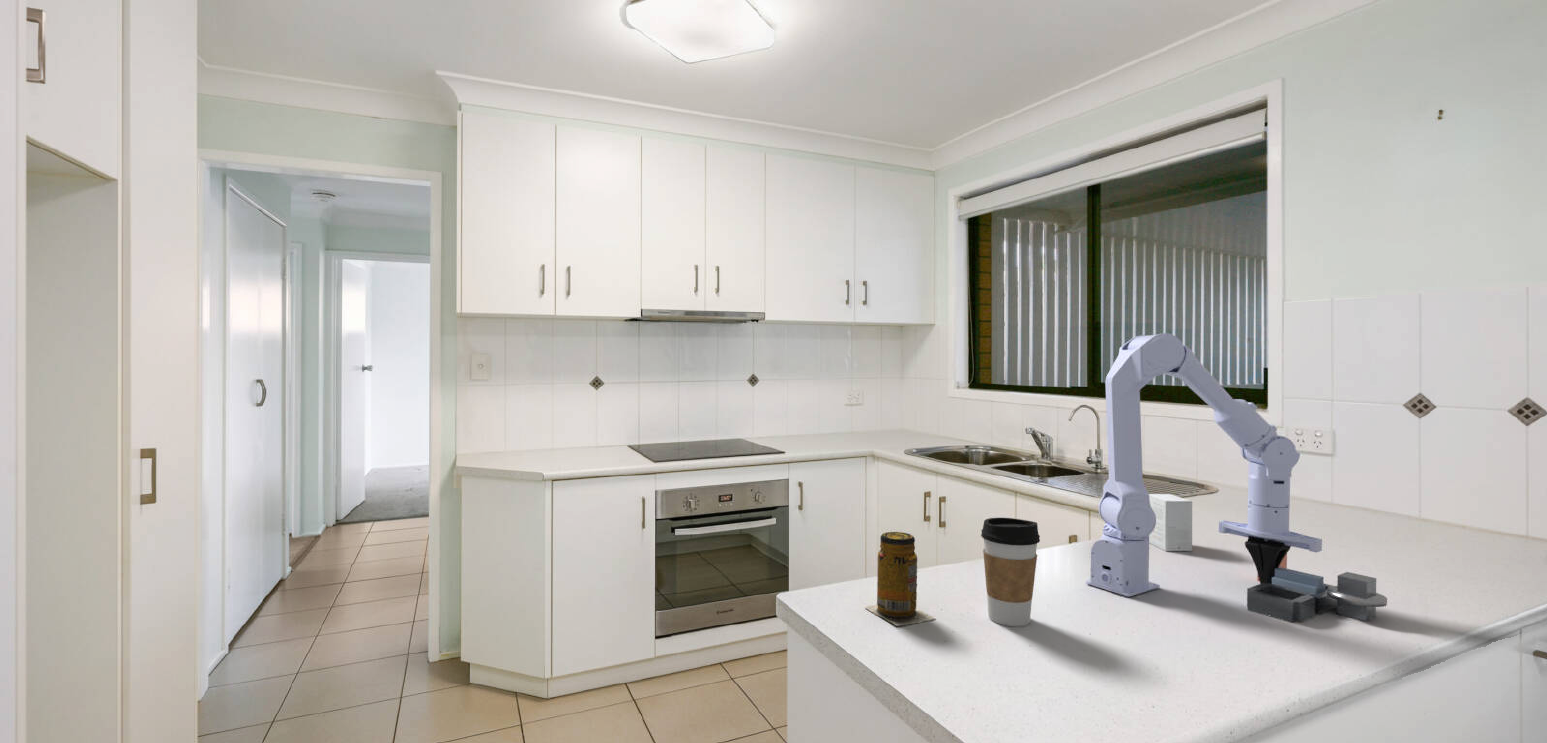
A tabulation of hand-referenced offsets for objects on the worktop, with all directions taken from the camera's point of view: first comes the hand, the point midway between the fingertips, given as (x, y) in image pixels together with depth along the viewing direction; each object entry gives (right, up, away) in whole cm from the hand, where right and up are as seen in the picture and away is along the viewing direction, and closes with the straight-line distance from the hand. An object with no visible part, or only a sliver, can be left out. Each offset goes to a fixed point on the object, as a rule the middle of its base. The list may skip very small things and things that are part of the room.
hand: (1266, 583), depth 114 cm
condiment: (-65, -2, -11) cm, 66 cm away
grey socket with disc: (+1, -2, -9) cm, 9 cm away
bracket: (+2, -2, -4) cm, 5 cm away
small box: (0, -1, +28) cm, 28 cm away
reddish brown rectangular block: (+5, -1, +5) cm, 7 cm away
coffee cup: (-48, -2, -13) cm, 50 cm away
